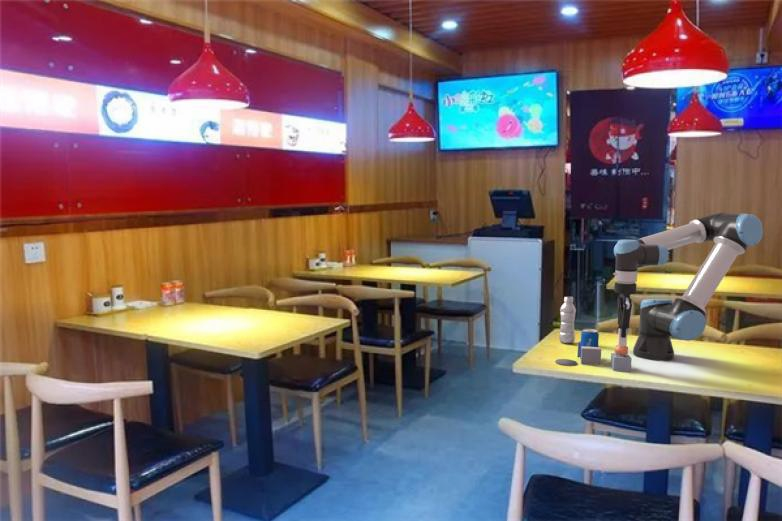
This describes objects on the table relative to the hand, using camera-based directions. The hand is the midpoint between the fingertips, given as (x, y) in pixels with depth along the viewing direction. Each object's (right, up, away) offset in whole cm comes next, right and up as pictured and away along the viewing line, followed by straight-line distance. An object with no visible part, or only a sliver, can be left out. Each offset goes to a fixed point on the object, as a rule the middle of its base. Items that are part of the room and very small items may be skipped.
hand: (622, 345), depth 225 cm
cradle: (-9, -8, +11) cm, 16 cm away
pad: (-18, -8, +8) cm, 21 cm away
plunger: (0, -8, +1) cm, 8 cm away
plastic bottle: (-9, -5, +39) cm, 40 cm away
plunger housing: (0, -9, +1) cm, 9 cm away
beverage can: (-9, -8, +11) cm, 16 cm away
